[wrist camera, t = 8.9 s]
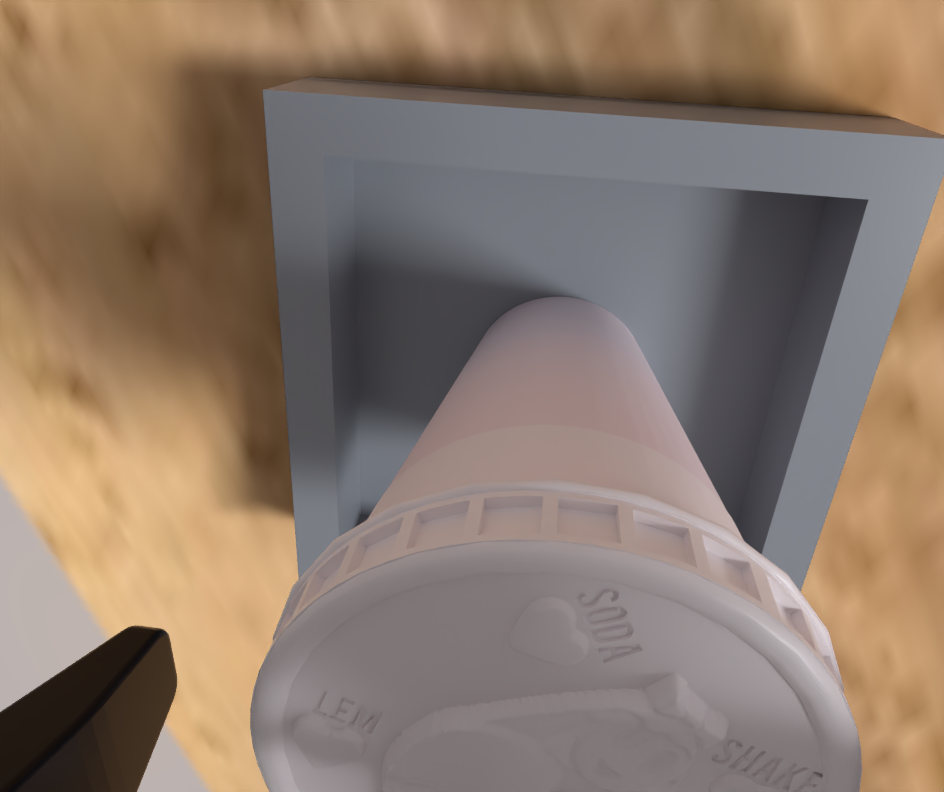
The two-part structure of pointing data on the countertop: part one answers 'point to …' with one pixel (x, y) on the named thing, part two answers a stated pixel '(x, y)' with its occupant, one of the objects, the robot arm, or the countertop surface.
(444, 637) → the smoothie
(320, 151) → the tray
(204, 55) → the countertop surface
